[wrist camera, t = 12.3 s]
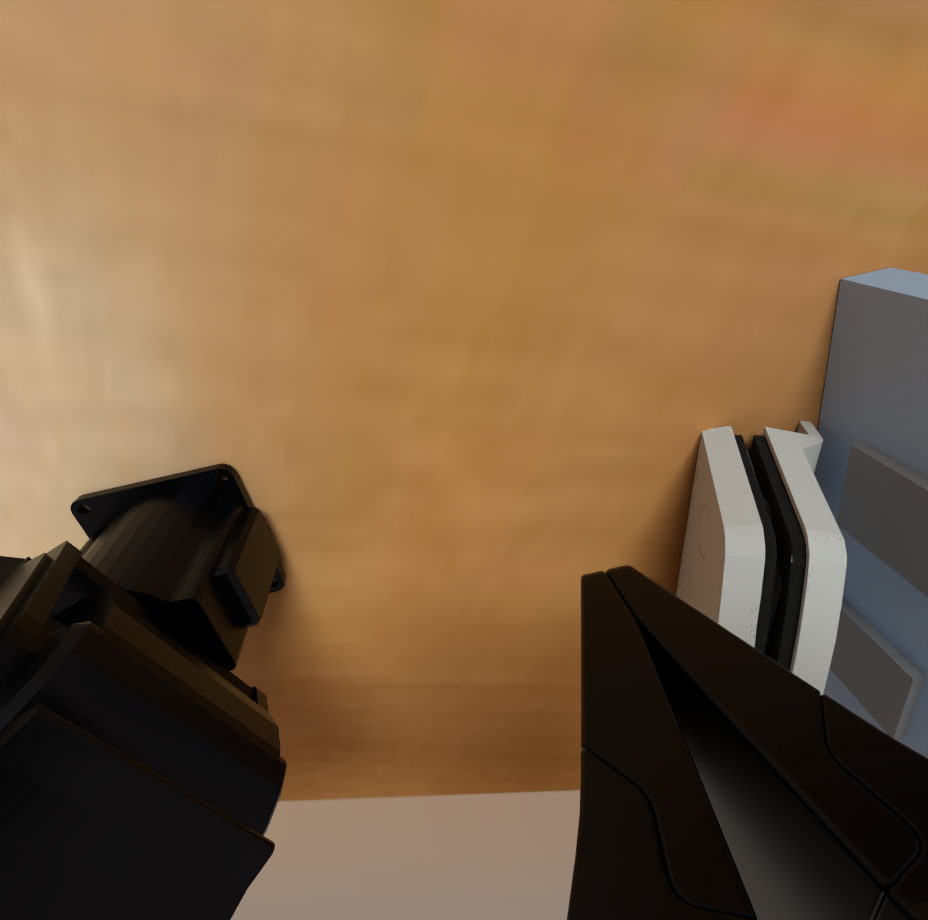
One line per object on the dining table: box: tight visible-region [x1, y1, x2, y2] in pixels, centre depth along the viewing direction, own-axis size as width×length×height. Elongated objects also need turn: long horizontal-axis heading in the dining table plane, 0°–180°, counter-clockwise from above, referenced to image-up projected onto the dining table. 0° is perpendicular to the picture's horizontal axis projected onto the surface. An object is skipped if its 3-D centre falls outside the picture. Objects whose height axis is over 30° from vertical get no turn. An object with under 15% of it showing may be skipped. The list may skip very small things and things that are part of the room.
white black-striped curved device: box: [676, 421, 847, 695], centre depth 24 cm, size 17×5×10 cm, turn 4°
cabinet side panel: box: [814, 268, 928, 758], centre depth 22 cm, size 2×22×10 cm, turn 11°
